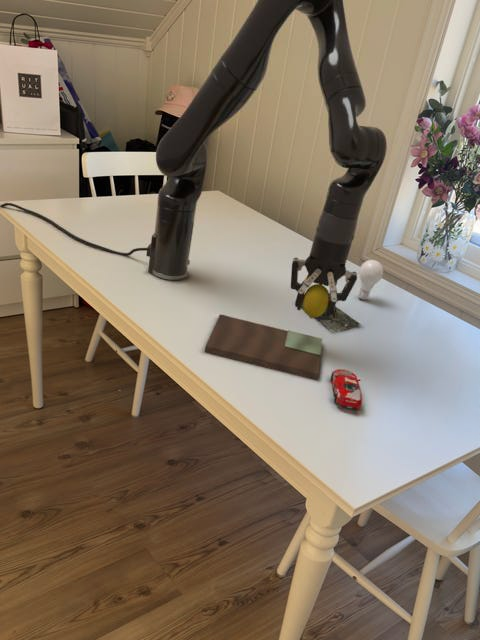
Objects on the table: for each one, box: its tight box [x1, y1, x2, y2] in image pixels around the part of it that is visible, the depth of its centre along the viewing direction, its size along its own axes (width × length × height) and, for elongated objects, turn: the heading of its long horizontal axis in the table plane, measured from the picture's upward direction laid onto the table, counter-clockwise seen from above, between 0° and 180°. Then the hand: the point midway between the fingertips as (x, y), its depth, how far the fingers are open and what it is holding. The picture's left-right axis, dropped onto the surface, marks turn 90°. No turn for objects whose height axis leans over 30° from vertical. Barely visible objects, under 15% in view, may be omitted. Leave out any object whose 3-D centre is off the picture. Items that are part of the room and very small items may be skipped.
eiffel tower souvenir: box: [301, 280, 362, 333], centre depth 147 cm, size 15×10×13 cm
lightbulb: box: [357, 259, 385, 301], centre depth 161 cm, size 6×6×11 cm
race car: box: [330, 368, 363, 411], centre depth 121 cm, size 13×5×4 cm, turn 177°
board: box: [204, 314, 323, 381], centre depth 131 cm, size 24×16×2 cm, turn 81°
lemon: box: [301, 283, 330, 319], centre depth 128 cm, size 6×6×8 cm
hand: (312, 311), depth 129 cm, fingers closed on lemon, 5 cm apart
